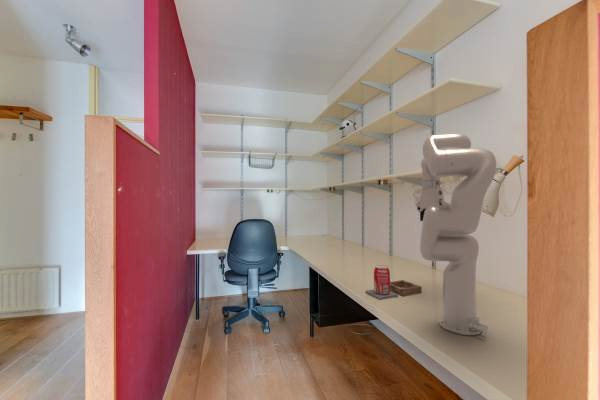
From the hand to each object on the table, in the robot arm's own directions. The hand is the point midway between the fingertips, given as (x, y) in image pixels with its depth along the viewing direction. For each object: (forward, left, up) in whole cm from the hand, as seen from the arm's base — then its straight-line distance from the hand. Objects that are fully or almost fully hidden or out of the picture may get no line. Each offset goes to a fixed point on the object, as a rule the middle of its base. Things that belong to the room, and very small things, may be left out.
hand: (431, 221), depth 124 cm
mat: (+8, +23, -33) cm, 41 cm away
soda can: (+8, +23, -32) cm, 41 cm away
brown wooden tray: (+8, +10, -33) cm, 36 cm away
